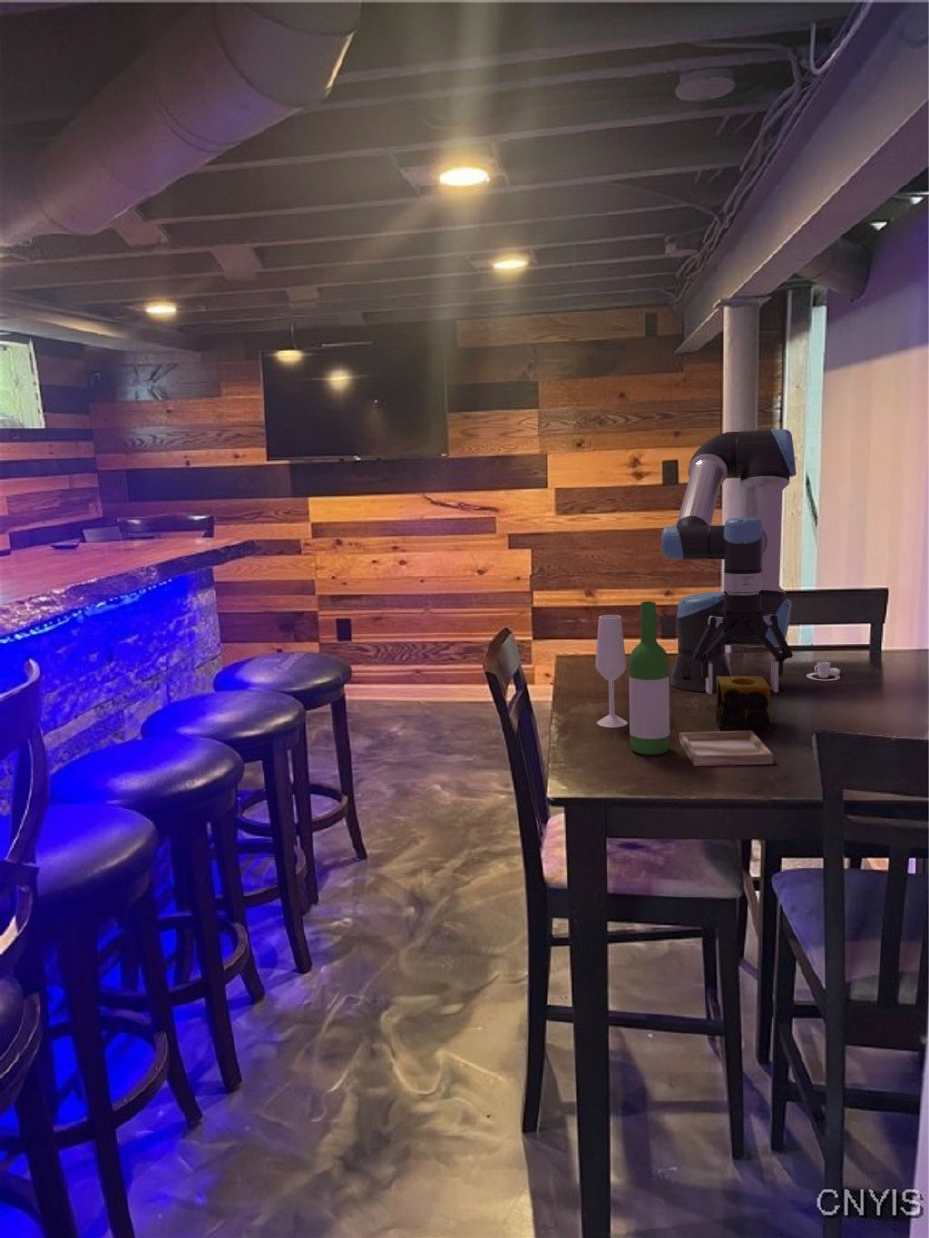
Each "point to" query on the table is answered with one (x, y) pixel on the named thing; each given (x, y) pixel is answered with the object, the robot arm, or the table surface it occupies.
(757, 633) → the robot arm
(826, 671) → the teacup and saucer
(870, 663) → the table surface
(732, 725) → the candle
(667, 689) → the wine bottle
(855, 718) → the table surface
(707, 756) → the slot frame
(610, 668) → the champagne flute
